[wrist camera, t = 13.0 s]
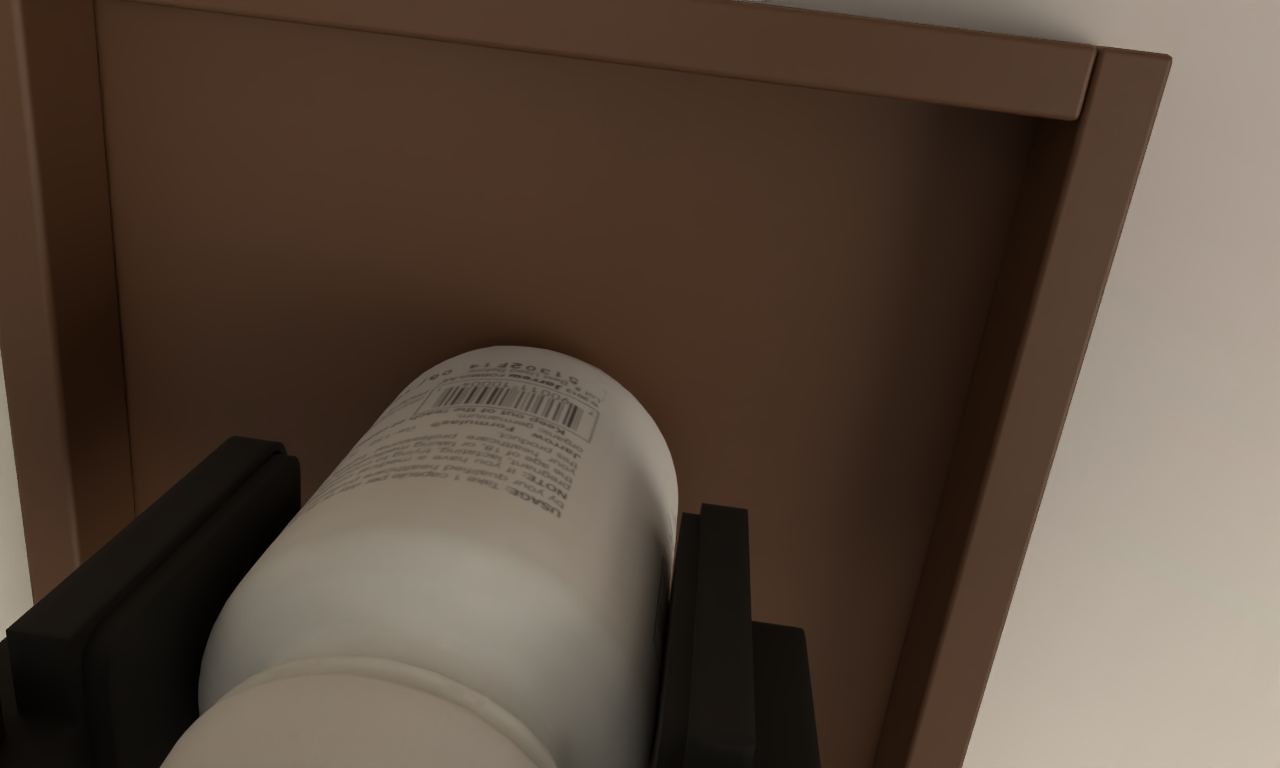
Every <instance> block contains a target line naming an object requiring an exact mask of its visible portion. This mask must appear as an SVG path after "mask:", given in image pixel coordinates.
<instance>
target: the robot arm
mask: <svg viewBox="0 0 1280 768" xmlns="http://www.w3.org/2000/svg"><path fill="white" fill-rule="evenodd" d="M300 510H301V470H300V463H299V460H298V458H297V457H296V456H290V455H287V451H286V448H285V446H284V445H283V443H282V442H276V441H269V440H262V439H255V438H248V437H241V436H232V437H230V438H228V439H227V440H226V441H225V442H224V443H223V444H221V445H220V446H219V447H218V448H217V449H216V450H214V451H213V452H212V453H211V454H210V455H209V456H207V457H206V458H205V459H204V460H203V461H202V462H200V463H199V464H198V465H197V466H196V467H195V468H194V469H192V470H191V471H190V472H189V473H188V474H187V475H185V476H184V477H183V478H182V479H181V480H180V481H178V482H177V483H176V484H175V485H174V486H173V487H171V488H170V489H169V490H168V491H167V492H166V493H164V494H163V495H162V496H161V497H160V498H159V499H157V500H156V501H155V502H154V503H153V504H152V505H150V506H149V507H148V508H147V509H146V510H145V511H144V512H142V513H141V514H140V515H139V516H138V517H137V518H135V519H134V520H133V521H132V522H131V523H130V524H128V525H127V526H126V527H125V528H124V529H123V530H121V531H120V532H119V533H118V534H117V535H116V536H114V537H113V538H112V539H111V540H110V541H109V542H107V543H106V544H105V545H104V546H103V547H102V548H100V549H99V550H98V551H97V552H96V553H95V554H94V555H92V556H91V557H90V558H89V559H88V560H87V561H85V562H84V563H83V564H82V565H81V566H80V567H78V568H77V569H76V570H75V571H74V572H73V573H71V574H70V575H69V576H68V577H67V578H66V579H64V580H63V581H62V582H61V583H60V584H59V585H57V586H56V587H55V588H54V589H53V590H52V591H50V592H49V593H48V594H47V595H46V596H45V597H43V598H42V599H41V600H40V601H39V602H38V603H37V604H35V605H34V606H33V607H32V608H31V609H30V610H28V611H27V612H26V613H25V614H24V615H23V616H21V617H20V618H19V619H18V620H17V621H16V622H14V623H13V624H12V625H11V626H10V627H9V628H7V629H6V635H7V637H6V638H4V639H3V640H2V641H1V642H0V768H160V766H161V765H162V763H163V762H164V760H165V759H166V758H167V756H168V755H169V753H170V752H171V750H172V749H173V747H174V746H175V744H176V743H177V741H178V740H179V739H180V738H181V736H182V735H183V734H184V733H185V731H186V730H187V729H188V728H189V727H190V726H191V725H192V724H193V723H194V722H195V721H196V720H197V719H198V718H199V706H198V683H199V676H200V670H201V662H202V658H203V654H204V651H205V648H206V644H207V641H208V638H209V636H210V633H211V630H212V627H213V625H214V623H215V622H216V620H217V618H218V616H219V614H220V612H221V610H222V609H223V607H224V605H225V603H226V601H227V600H228V598H229V597H230V596H231V594H232V593H233V591H234V590H235V589H236V587H237V586H238V584H239V583H240V582H241V581H242V579H243V578H244V577H245V576H246V574H247V573H248V572H249V571H250V569H251V568H252V567H253V566H254V564H255V563H256V562H257V561H258V560H259V558H260V557H261V556H262V555H263V553H264V552H265V551H266V550H267V549H268V547H269V546H270V545H271V544H272V543H273V542H274V541H275V540H276V538H277V537H278V536H279V535H280V534H281V532H282V531H283V530H284V529H285V527H286V526H287V525H288V524H289V522H290V521H291V520H292V519H293V518H294V517H295V516H296V514H297V513H298V512H299V511H300ZM648 768H821V763H820V755H819V746H818V738H817V729H816V721H815V712H814V704H813V695H812V687H811V679H810V670H809V662H808V653H807V645H806V637H805V633H804V630H803V629H802V628H799V627H792V626H785V625H778V624H772V623H765V622H758V621H752V616H751V586H750V556H749V526H748V509H743V508H736V507H729V506H722V505H715V504H708V503H702V505H701V509H700V514H693V513H686V512H683V513H682V518H681V525H680V531H679V538H678V545H677V551H676V558H675V565H674V572H673V578H672V585H671V592H670V598H669V607H668V615H667V625H666V634H665V644H664V654H663V662H662V671H661V682H660V691H659V700H658V708H657V717H656V725H655V731H654V736H653V743H652V749H651V755H650V761H649V764H648Z"/></svg>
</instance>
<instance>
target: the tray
mask: <svg viewBox="0 0 1280 768" xmlns="http://www.w3.org/2000/svg"><path fill="white" fill-rule="evenodd" d="M1171 65H1172V57H1171V56H1169V55H1168V54H1161V53H1153V52H1145V51H1137V50H1129V49H1121V48H1113V47H1105V46H1094V45H1089V44H1081V43H1073V42H1064V41H1056V40H1048V39H1040V38H1032V37H1024V36H1016V35H1008V34H1000V33H992V32H984V31H976V30H968V29H960V28H951V27H943V26H935V25H927V24H919V23H911V22H903V21H895V20H887V19H879V18H871V17H863V16H855V15H847V14H838V13H830V12H822V11H814V10H806V9H798V8H790V7H782V6H774V5H766V4H758V3H750V2H742V1H734V0H0V349H1V357H2V365H3V372H4V380H5V388H6V396H7V403H8V411H9V419H10V426H11V434H12V442H13V450H14V457H15V465H16V473H17V480H18V488H19V496H20V504H21V511H22V519H23V527H24V534H25V542H26V550H27V558H28V565H29V573H30V581H31V588H32V596H33V604H34V605H35V604H37V603H38V602H39V601H40V600H41V599H42V598H43V597H45V596H46V595H47V594H48V593H49V592H50V591H52V590H53V589H54V588H55V587H56V586H57V585H59V584H60V583H61V582H62V581H63V580H64V579H66V578H67V577H68V576H69V575H70V574H71V573H73V572H74V571H75V570H76V569H77V568H78V567H80V566H81V565H82V564H83V563H84V562H85V561H87V560H88V559H89V558H90V557H91V556H92V555H94V554H95V553H96V552H97V551H98V550H99V549H100V548H102V547H103V546H104V545H105V544H106V543H107V542H109V541H110V540H111V539H112V538H113V537H114V536H116V535H117V534H118V533H119V532H120V531H121V530H123V529H124V528H125V527H126V526H127V525H128V524H130V523H131V522H132V521H133V520H134V519H135V518H137V517H138V516H139V515H140V514H141V513H142V512H144V511H145V510H146V509H147V508H148V507H149V506H150V505H152V504H153V503H154V502H155V501H156V500H157V499H159V498H160V497H161V496H162V495H163V494H164V493H166V492H167V491H168V490H169V489H170V488H171V487H173V486H174V485H175V484H176V483H177V482H178V481H180V480H181V479H182V478H183V477H184V476H185V475H187V474H188V473H189V472H190V471H191V470H192V469H194V468H195V467H196V466H197V465H198V464H199V463H200V462H202V461H203V460H204V459H205V458H206V457H207V456H209V455H210V454H211V453H212V452H213V451H214V450H216V449H217V448H218V447H219V446H220V445H221V444H223V443H224V442H225V441H226V440H227V439H228V438H230V437H232V436H241V437H248V438H255V439H262V440H269V441H276V442H282V443H283V445H284V446H285V448H286V451H287V455H290V456H296V457H297V458H298V460H299V463H300V470H301V509H302V508H303V506H304V505H305V504H306V503H307V502H308V500H309V499H310V498H311V497H312V496H313V495H314V493H315V492H316V491H317V490H318V489H319V487H320V486H321V485H322V484H323V483H324V482H325V480H326V479H327V478H328V477H329V476H330V475H331V473H332V472H333V471H334V470H335V469H336V467H337V466H338V465H339V464H340V463H341V462H342V460H343V459H344V458H345V457H346V456H347V455H348V454H349V452H350V451H351V450H352V449H353V447H354V446H355V445H356V444H357V443H358V441H359V440H360V439H361V438H362V437H363V436H364V435H365V434H366V433H367V432H368V430H369V429H370V428H371V427H372V426H373V425H374V423H375V422H376V421H377V420H378V419H379V417H380V416H381V415H382V414H383V413H384V411H385V410H386V409H387V408H388V407H389V406H390V405H391V404H392V403H393V401H394V400H395V399H396V398H397V397H398V396H399V394H400V393H401V392H402V391H403V390H404V389H405V388H406V387H407V386H408V385H409V384H410V383H412V382H413V381H414V380H415V379H417V378H418V377H419V376H420V375H422V374H423V373H424V372H426V371H427V370H429V369H431V368H433V367H434V366H436V365H438V364H440V363H442V362H444V361H446V360H448V359H450V358H453V357H456V356H458V355H461V354H463V353H466V352H469V351H473V350H477V349H482V348H487V347H493V346H523V347H533V348H541V349H547V350H551V351H555V352H559V353H562V354H566V355H569V356H571V357H574V358H577V359H579V360H581V361H584V362H586V363H588V364H590V365H592V366H595V367H597V368H599V369H600V370H602V371H603V372H605V373H606V374H607V375H609V376H610V377H612V378H613V379H614V380H616V381H617V382H618V383H619V384H620V385H621V386H623V387H624V388H625V389H626V390H628V391H629V392H630V393H631V394H632V395H633V396H634V397H635V398H636V399H637V400H638V401H639V403H640V404H641V405H642V406H643V407H644V409H645V410H646V411H647V412H648V414H649V415H650V416H651V418H652V419H653V420H654V422H655V423H656V425H657V427H658V429H659V430H660V432H661V434H662V436H663V437H664V439H665V442H666V444H667V446H668V449H669V451H670V454H671V457H672V460H673V464H674V468H675V472H676V478H677V486H678V514H677V525H676V542H675V549H674V559H673V567H672V575H671V585H672V578H673V572H674V565H675V558H676V551H677V545H678V538H679V531H680V525H681V518H682V513H683V512H686V513H693V514H700V509H701V505H702V503H708V504H715V505H722V506H729V507H736V508H743V509H748V526H749V556H750V586H751V616H752V621H758V622H765V623H772V624H778V625H785V626H792V627H799V628H802V629H803V630H804V633H805V637H806V645H807V653H808V662H809V670H810V679H811V687H812V695H813V704H814V712H815V721H816V729H817V738H818V746H819V755H820V763H821V768H962V765H963V761H964V758H965V755H966V751H967V748H968V745H969V741H970V738H971V735H972V731H973V728H974V725H975V721H976V718H977V715H978V711H979V708H980V704H981V701H982V698H983V694H984V691H985V688H986V684H987V681H988V678H989V674H990V671H991V668H992V664H993V661H994V658H995V654H996V651H997V648H998V644H999V641H1000V637H1001V634H1002V631H1003V627H1004V624H1005V621H1006V617H1007V614H1008V611H1009V607H1010V604H1011V601H1012V597H1013V594H1014V591H1015V587H1016V584H1017V581H1018V577H1019V574H1020V571H1021V567H1022V564H1023V560H1024V557H1025V554H1026V550H1027V547H1028V544H1029V540H1030V537H1031V534H1032V530H1033V527H1034V524H1035V520H1036V517H1037V514H1038V510H1039V507H1040V504H1041V500H1042V497H1043V494H1044V490H1045V487H1046V483H1047V480H1048V477H1049V473H1050V470H1051V467H1052V463H1053V460H1054V457H1055V453H1056V450H1057V447H1058V443H1059V440H1060V437H1061V433H1062V430H1063V427H1064V423H1065V420H1066V416H1067V413H1068V410H1069V406H1070V403H1071V400H1072V396H1073V393H1074V390H1075V386H1076V383H1077V380H1078V376H1079V373H1080V370H1081V366H1082V363H1083V360H1084V356H1085V353H1086V350H1087V346H1088V343H1089V339H1090V336H1091V333H1092V329H1093V326H1094V323H1095V319H1096V316H1097V313H1098V309H1099V306H1100V303H1101V299H1102V296H1103V293H1104V289H1105V286H1106V283H1107V279H1108V276H1109V273H1110V269H1111V266H1112V262H1113V259H1114V256H1115V252H1116V249H1117V246H1118V242H1119V239H1120V236H1121V232H1122V229H1123V226H1124V222H1125V219H1126V216H1127V212H1128V209H1129V206H1130V202H1131V199H1132V195H1133V192H1134V189H1135V185H1136V182H1137V179H1138V175H1139V172H1140V169H1141V165H1142V162H1143V159H1144V155H1145V152H1146V149H1147V145H1148V142H1149V139H1150V135H1151V132H1152V129H1153V125H1154V122H1155V118H1156V115H1157V112H1158V108H1159V105H1160V102H1161V98H1162V95H1163V92H1164V88H1165V85H1166V82H1167V78H1168V75H1169V72H1170V68H1171ZM671 585H670V592H671ZM669 598H670V596H669Z"/></svg>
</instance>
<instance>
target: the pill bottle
mask: <svg viewBox="0 0 1280 768" xmlns="http://www.w3.org/2000/svg"><path fill="white" fill-rule="evenodd" d="M677 514H678V486H677V478H676V472H675V468H674V464H673V460H672V457H671V454H670V451H669V449H668V446H667V444H666V442H665V439H664V437H663V436H662V434H661V432H660V430H659V429H658V427H657V425H656V423H655V422H654V420H653V419H652V418H651V416H650V415H649V414H648V412H647V411H646V410H645V409H644V407H643V406H642V405H641V404H640V403H639V401H638V400H637V399H636V398H635V397H634V396H633V395H632V394H631V393H630V392H629V391H628V390H626V389H625V388H624V387H623V386H621V385H620V384H619V383H618V382H617V381H616V380H614V379H613V378H612V377H610V376H609V375H607V374H606V373H605V372H603V371H602V370H600V369H599V368H597V367H595V366H592V365H590V364H588V363H586V362H584V361H581V360H579V359H577V358H574V357H571V356H569V355H566V354H562V353H559V352H555V351H551V350H547V349H541V348H533V347H523V346H493V347H487V348H482V349H477V350H473V351H469V352H466V353H463V354H461V355H458V356H456V357H453V358H450V359H448V360H446V361H444V362H442V363H440V364H438V365H436V366H434V367H433V368H431V369H429V370H427V371H426V372H424V373H423V374H422V375H420V376H419V377H418V378H417V379H415V380H414V381H413V382H412V383H410V384H409V385H408V386H407V387H406V388H405V389H404V390H403V391H402V392H401V393H400V394H399V396H398V397H397V398H396V399H395V400H394V401H393V403H392V404H391V405H390V406H389V407H388V408H387V409H386V410H385V411H384V413H383V414H382V415H381V416H380V417H379V419H378V420H377V421H376V422H375V423H374V425H373V426H372V427H371V428H370V429H369V430H368V432H367V433H366V434H365V435H364V436H363V437H362V438H361V439H360V440H359V441H358V443H357V444H356V445H355V446H354V447H353V449H352V450H351V451H350V452H349V454H348V455H347V456H346V457H345V458H344V459H343V460H342V462H341V463H340V464H339V465H338V466H337V467H336V469H335V470H334V471H333V472H332V473H331V475H330V476H329V477H328V478H327V479H326V480H325V482H324V483H323V484H322V485H321V486H320V487H319V489H318V490H317V491H316V492H315V493H314V495H313V496H312V497H311V498H310V499H309V500H308V502H307V503H306V504H305V505H304V506H303V508H302V509H301V510H300V511H299V512H298V513H297V514H296V516H295V517H294V518H293V519H292V520H291V521H290V522H289V524H288V525H287V526H286V527H285V529H284V530H283V531H282V532H281V534H280V535H279V536H278V537H277V538H276V540H275V541H274V542H273V543H272V544H271V545H270V546H269V547H268V549H267V550H266V551H265V552H264V553H263V555H262V556H261V557H260V558H259V560H258V561H257V562H256V563H255V564H254V566H253V567H252V568H251V569H250V571H249V572H248V573H247V574H246V576H245V577H244V578H243V579H242V581H241V582H240V583H239V584H238V586H237V587H236V589H235V590H234V591H233V593H232V594H231V596H230V597H229V598H228V600H227V601H226V603H225V605H224V607H223V609H222V610H221V612H220V614H219V616H218V618H217V620H216V622H215V623H214V625H213V627H212V630H211V633H210V636H209V638H208V641H207V644H206V648H205V651H204V654H203V658H202V662H201V670H200V676H199V683H198V706H199V718H198V719H197V720H196V721H195V722H194V723H193V724H192V725H191V726H190V727H189V728H188V729H187V730H186V731H185V733H184V734H183V735H182V736H181V738H180V739H179V740H178V741H177V743H176V744H175V746H174V747H173V749H172V750H171V752H170V753H169V755H168V756H167V758H166V759H165V760H164V762H163V763H162V765H161V766H160V768H648V764H649V761H650V755H651V749H652V743H653V736H654V731H655V725H656V717H657V708H658V700H659V691H660V682H661V671H662V662H663V654H664V644H665V634H666V625H667V615H668V607H669V596H670V585H671V575H672V567H673V559H674V549H675V542H676V525H677Z"/></svg>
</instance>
